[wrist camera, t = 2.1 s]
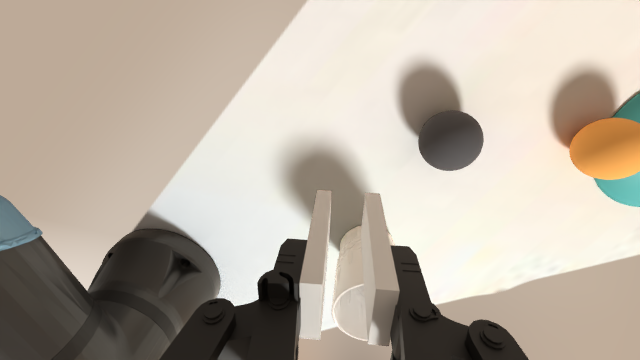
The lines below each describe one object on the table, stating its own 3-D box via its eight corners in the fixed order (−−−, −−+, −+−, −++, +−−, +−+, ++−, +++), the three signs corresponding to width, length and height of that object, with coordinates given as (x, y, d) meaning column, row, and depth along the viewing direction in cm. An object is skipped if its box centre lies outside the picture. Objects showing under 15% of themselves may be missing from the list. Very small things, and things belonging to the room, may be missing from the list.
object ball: (547, 163, 31) (586, 188, 26) (568, 110, 28) (615, 126, 23) (604, 166, 30) (654, 192, 26) (630, 112, 28) (691, 129, 23)
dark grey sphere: (409, 156, 32) (420, 178, 27) (418, 103, 29) (432, 117, 24) (462, 159, 31) (484, 182, 26) (476, 106, 29) (502, 121, 24)
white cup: (355, 209, 35) (358, 269, 26) (412, 237, 36) (434, 304, 27) (324, 255, 38) (317, 322, 29) (377, 279, 39) (386, 352, 30)
